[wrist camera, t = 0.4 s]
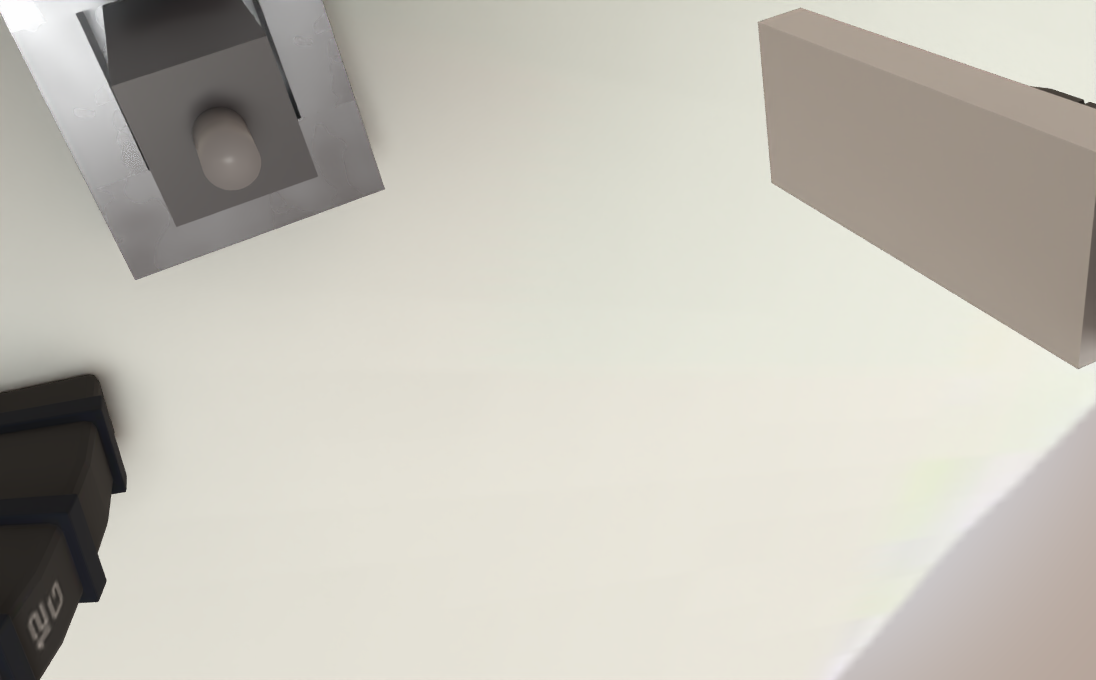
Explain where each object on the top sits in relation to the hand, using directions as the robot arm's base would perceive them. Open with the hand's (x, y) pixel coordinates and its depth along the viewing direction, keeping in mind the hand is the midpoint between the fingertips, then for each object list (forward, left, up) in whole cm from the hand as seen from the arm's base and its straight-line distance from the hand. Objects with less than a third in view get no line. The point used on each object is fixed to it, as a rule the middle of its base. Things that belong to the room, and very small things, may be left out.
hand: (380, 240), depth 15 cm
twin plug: (+2, -2, -24) cm, 24 cm away
